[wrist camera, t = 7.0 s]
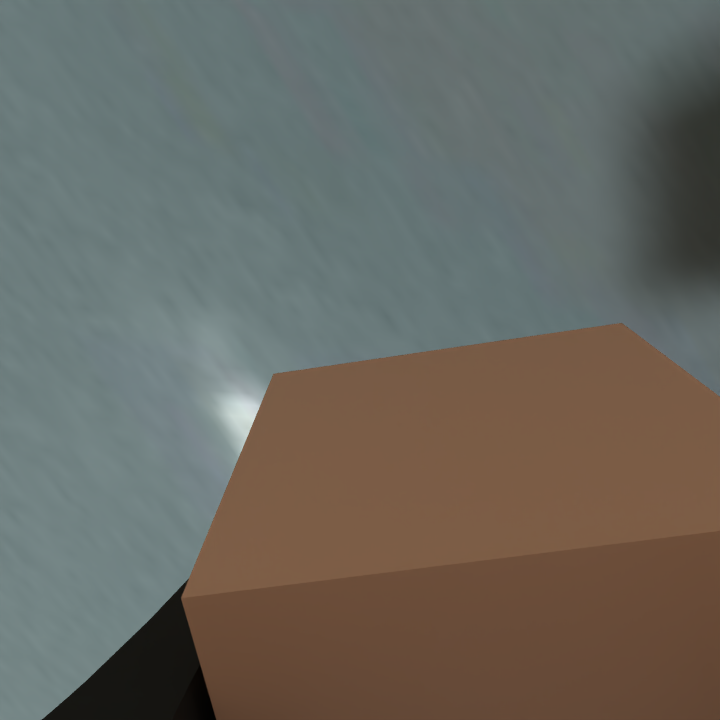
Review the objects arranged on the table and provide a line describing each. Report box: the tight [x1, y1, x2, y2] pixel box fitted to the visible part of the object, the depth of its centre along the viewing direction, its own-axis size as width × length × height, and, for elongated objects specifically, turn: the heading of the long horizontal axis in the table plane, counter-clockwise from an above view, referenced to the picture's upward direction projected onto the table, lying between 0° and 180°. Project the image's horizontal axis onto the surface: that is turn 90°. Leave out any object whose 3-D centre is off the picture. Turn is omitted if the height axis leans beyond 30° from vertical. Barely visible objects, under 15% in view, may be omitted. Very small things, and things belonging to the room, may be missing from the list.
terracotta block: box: [181, 323, 720, 720], centre depth 8 cm, size 5×5×5 cm
